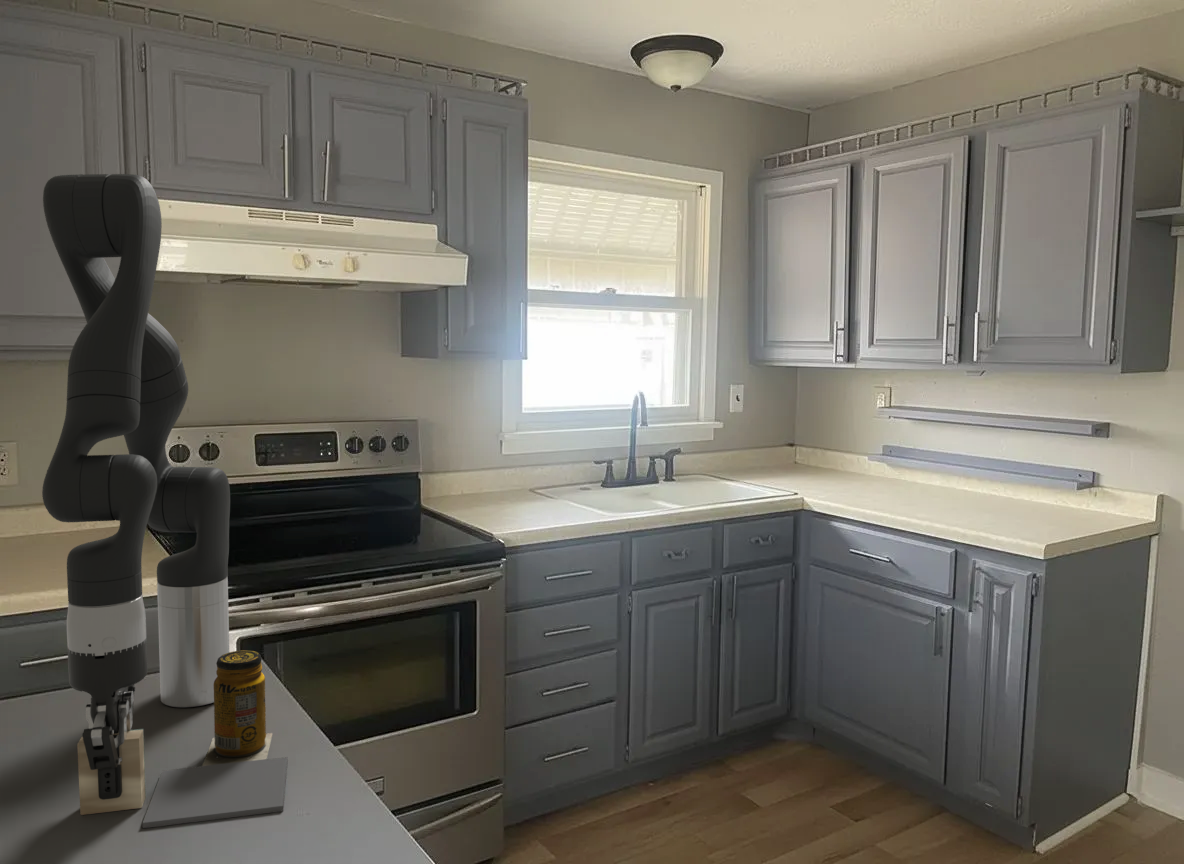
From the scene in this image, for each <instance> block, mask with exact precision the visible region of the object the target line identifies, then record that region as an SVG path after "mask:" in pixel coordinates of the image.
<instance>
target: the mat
mask: <svg viewBox="0 0 1184 864" xmlns="http://www.w3.org/2000/svg"><path fill="white" fill-rule="evenodd" d="M288 761H289V760H288V756H283V757H274V758H267V759H263V760H254V761H245V762H235V763H226V764H217V765H207V766H202V765H199V766H191V767H182V768H172V769H162V770H161V772H160V775H159V779H158V780H157V784H156V786H155V789H154V791H153V793H152V797H151V800H150V802H149V805H148V807H147V811H146V812H145V816H144V818H143V821H142V829H148V828H155V827H164V826H172V825H180V824H188V823H195V822H204V821H205V822H206V821H213V820H222V819H229V818H235V817H236V818H237V817H247V816H253V815H260V814H261V815H262V814H270V813H278V812H279V813H280V812H284V807H285V806H284V805H285V795H286V782H287V775H288Z"/></svg>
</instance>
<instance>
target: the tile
mask: <svg viewBox="0 0 1184 864" xmlns="http://www.w3.org/2000/svg"><path fill="white" fill-rule="evenodd" d="M118 734H119V733H117V734H113V735H118ZM144 734H145V733H144V728H138V729H132V730H130V731H127V738H126V740H125V741H124V743H123V744H122V757H123V761H122V763H121V771H122V794H121V796H120V797H118V798H113V799H105V800H102V799H100V798H99V791H98V769H96V770H91V769H90V766H89V761H88V757H87V753H86V749H85V745H84V741H83V738H82V736H81V737H80V739H79V741H78V742H77V744H76V745H77V763H78V765H77V766H78V767H77V768H78V787H79V788H78V791H79V810H80V816H83V815H84V816H85V815H91V814H100V813H110V812H111V813H112V812H117V811H124V810H125V811H126V810H134V809H142V808H143V805H144V803H145V801H146V798H147V791H146V790H147V789H146V763H145V760H146V759H145V737H144Z"/></svg>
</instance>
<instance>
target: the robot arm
mask: <svg viewBox="0 0 1184 864" xmlns="http://www.w3.org/2000/svg"><path fill="white" fill-rule="evenodd" d="M42 194H43V196H42V205H43V211H44V212H43V213H44V217H45V221H46V225H47V228H48V231H49V233H50V237H51V239H52V242H53V244H54V247H55V250H56V252H57V254H58V257H59V259H60V261H61V264H62V267H64V271H65V273H66V275H67V277H68V279H69V281H70V284H71V286H72V288H73V291H74V292H75V295H76V299H77V300H78V302H79V305H80V308H81V310H82V313H83V315H84V318H85V321H86V324H85V326H84V327H83V329H82V330H81V331H80V333H79V335H78V336H77V338H76V341H75V342H74V345H73V347H72V349H71V352H70V355H69V360H68V366H67V384H66V385H67V387H66V407H65V417H64V421H63V425H62V428H61V429H62V430H61V433H60V436H59V439H58V442H57V445H56V448H55V450H54V453H53V455H52V458H51V460H50V462H49V464H48V467H47V470H46V473H45V477H44V480H43V484H42V490H41V492H42V495H41V496H42V502H43V505H44V507H45V509H46V511H47V513H48V514H49V515H50V516H51V517H52V518H53V519H55V520H56V521H58V522H61V523H87V522H92V523H93V522H113V521H119V527H118V531H117V532H116V533H114V534H113V535H111V536H108V537H105V538H101V539H97V540H93V541H89V542H85V543H82V544H79V545H77V546H75V547H73V548H72V549H71V550H70V551H69V552H68V554H67V558H66V581H67V601H68V602H67V603H68V604H67V606H68V607H67V616H66V641H67V642H66V643H67V646H66V647H67V665H68V683H69V686H70V688H72V689H74V691H78V692H83V693H87V694H89V695H90V697H91V698H90V703H87V704H86V706H85V720H86V722H88V728H84V729H83V732H82V735H81V737H82V738H83V741H84V745H85V749H86V753H87V757H88V761H89V766H90V769H91V770H96V769H98V791H99V798H100V799H102V800H105V799H113V798H118V797H120V796H121V794H122V771H121V763H122V761H123V757H122V744H123V743H124V741H125V740H126V738H127V731H130V730H133V723H134V722H133V720H134V719H133V717H134V702H135V692H136V686H135V685H136V684H138V683H140V682H141V681H143V680H144V679H145V677H146V676H147V675H148V671H149V668H148V645H147V644H148V643H147V642H148V641H147V637H148V635H147V618H146V617H147V616H146V608H145V604H144V603H145V602H144V600H143V599H144V597H143V596H144V595H143V577H142V576H143V575H142V572H143V571H142V569H143V568H142V559H143V558H142V556H143V546H144V540H145V535H146V530H147V526H149V527H150V528H151V529H152V530H154V531H158V532H163V533H196V539H195V544H194V546H192V547H190V548H188V549H186V550H183V551H180V552H178V553H173V554H172V555H168V556H166V557H164V558H163V559H161V560H160V561H158V564H157V566H156V586H157V587H156V592H157V593H156V594H157V596H156V597H157V616H158V617H157V618H158V619H157V621H158V622H157V623H158V652H159V653H158V654H159V655H158V656H159V657H158V658H159V686H160V688H159V689H160V690H159V691H160V694H159V695H160V701H161V703H162V704H163V705H166V706H169V707H173V708H193V707H200V706H205V705H209V704H212V703H213V704H214V681H215V679H216V678H217V674H216V673H217V672H216V671H217V664H216V663H217V660H218V658H219V657H220V656H222V655H224V654H226V653H229V652H230V624H229V623H230V620H229V618H230V617H229V581H228V580H229V579H228V576H229V575H228V574H229V573H228V570H229V569H228V567H229V566H228V564H229V556H230V554H229V553H230V514H231V489H230V487H231V486H230V482H229V478H228V476H227V474H226V473H225V471H224V470H223V469H221V468H218V467H211V466H210V467H209V466H207V467H206V466H173V465H171V463H170V461H169V460H168V456H167V452H166V444H167V442H168V438H169V435H170V434H171V432H172V429H173V428H174V426H175V424H176V422H177V421H178V419H179V417H180V415H182V411H183V409H184V406H185V405H186V402H187V399H188V397H189V396H188V395H189V382H188V377H187V373H186V370H185V367H184V363H183V360H182V355H181V352H180V349H179V346H178V343H177V342H176V341H175V339H174V337H173V336H172V335H171V333H170V332H169V331H168V330H167V329H166V328H165V327H164V326H163V325H162V324H161V323H160V322H159V321H158V320H157V319H156V318H155V317H154V316H152V315H151V314H150V313H149V310H150V306H151V301H152V296H153V292H154V291H153V289H154V283H155V278H156V272H157V267H158V262H159V260H158V259H159V257H160V256H159V254H160V249H161V241H162V212H161V206H160V203H159V198H158V196H157V194H156V191H155V188H154V187H153V185H152V184H151V183H150V182H149V180H148V179H147V178H145V177H144V176H142V175H139V174H130V173H129V174H128V173H127V174H126V173H110V174H109V173H105V174H104V173H103V174H102V173H99V174H93V173H92V174H89V173H88V174H81V173H80V174H59V175H55V176H52V177H50V178H49V179H48V180H47V181H46V183H45V185H44V187H43V193H42ZM105 258H120V262H119V266H118V269H117V273H116V277H115V276H114V274H113V272H112V270H111V269H110V267H109V265H108V263H107V261H106V259H105ZM122 436H123V437H124V440H125V444H126V447H127V450H128V451H127V452H128V454H96V455H95V454H92V455H91V454H90V455H88V454H89V452H90V451H91V450H92V449H93V447H94V446H95V445H96V444H97V443H100V442H101V441H104V440H108V439H112V438H117V437H122ZM117 733H119V734H118V735H113V734H117Z"/></svg>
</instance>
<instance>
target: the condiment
mask: <svg viewBox="0 0 1184 864" xmlns="http://www.w3.org/2000/svg"><path fill="white" fill-rule="evenodd" d="M262 660H263V658H262V655H261V654H260V653H259V652H258V651H254V650H247V649H245V650H241V649H240V650H233V651H229V653H226V654H224V655H222V656H220V657H219V658H218V660H217V663H216V664H217V671H216V672H217V673H216V674H217V678H216V679H215V681H214V702H213V708H214V709H213V715H214V717H213V718H214V724H213V725H214V728H213V729H214V737H212V739H211V742H210V745H209V748H208V751H207V753H206V755H205V758H204V760H203V762H202V765H201V766H207V765H217V764H226V763H235V762H245V761H254V760H263V759H268V755H269V752H270V751H269V750H270V746H271V743H272V738H273V732H270V733H269V732H268V733H266V731H267V728H266V726H267V724H266V722H267V721H266V719H267V718H266V709H267V707H266V676H265V675H264V673H263V671H262V670H263V665H262Z"/></svg>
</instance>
